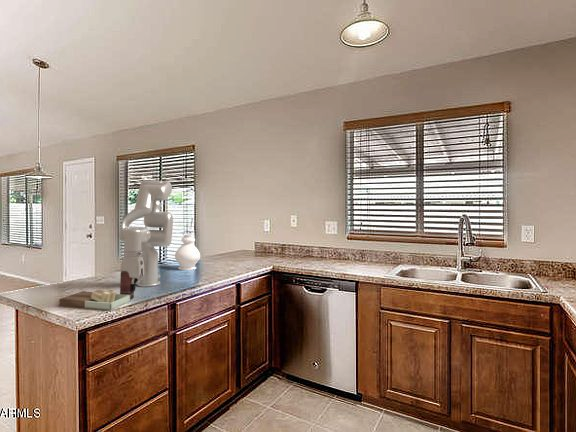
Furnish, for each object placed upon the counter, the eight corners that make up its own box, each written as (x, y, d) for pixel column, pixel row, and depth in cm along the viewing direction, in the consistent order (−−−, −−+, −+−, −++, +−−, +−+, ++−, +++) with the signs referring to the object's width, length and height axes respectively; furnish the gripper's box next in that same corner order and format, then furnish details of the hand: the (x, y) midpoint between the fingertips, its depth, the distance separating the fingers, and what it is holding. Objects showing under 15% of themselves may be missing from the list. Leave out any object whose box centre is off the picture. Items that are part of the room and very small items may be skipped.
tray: (106, 299, 161) (106, 293, 161) (130, 301, 159) (130, 295, 159) (84, 308, 147) (84, 301, 147) (110, 310, 145) (111, 303, 145)
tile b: (110, 289, 156) (116, 291, 155) (107, 300, 156) (113, 302, 155) (103, 292, 151) (109, 294, 150) (100, 303, 151) (106, 305, 150)
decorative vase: (186, 271, 232) (187, 235, 232) (169, 268, 242) (170, 233, 241) (205, 268, 248) (206, 234, 247) (188, 265, 257) (189, 232, 256)
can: (124, 301, 159) (125, 271, 159) (117, 298, 163) (118, 270, 162) (136, 298, 164) (137, 270, 164) (129, 296, 168) (130, 268, 167)
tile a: (98, 295, 156) (100, 289, 156) (107, 299, 156) (109, 292, 155) (90, 298, 151) (92, 292, 151) (100, 302, 151) (101, 295, 150)
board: (82, 297, 162) (82, 291, 162) (105, 299, 161) (105, 293, 161) (59, 305, 149) (59, 299, 148) (83, 307, 147) (83, 301, 147)
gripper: (151, 254, 165) (150, 290, 166) (123, 252, 167) (122, 288, 168) (142, 256, 158) (141, 294, 159) (113, 254, 160) (112, 292, 161)
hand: (131, 291), depth 163 cm, fingers closed
